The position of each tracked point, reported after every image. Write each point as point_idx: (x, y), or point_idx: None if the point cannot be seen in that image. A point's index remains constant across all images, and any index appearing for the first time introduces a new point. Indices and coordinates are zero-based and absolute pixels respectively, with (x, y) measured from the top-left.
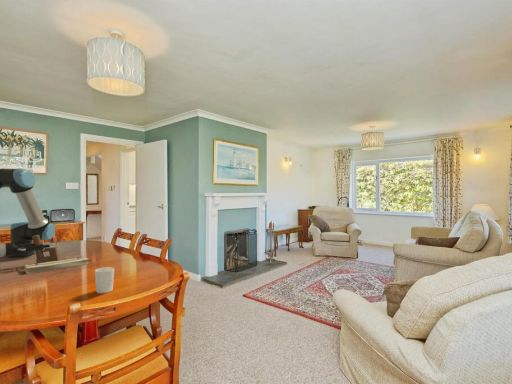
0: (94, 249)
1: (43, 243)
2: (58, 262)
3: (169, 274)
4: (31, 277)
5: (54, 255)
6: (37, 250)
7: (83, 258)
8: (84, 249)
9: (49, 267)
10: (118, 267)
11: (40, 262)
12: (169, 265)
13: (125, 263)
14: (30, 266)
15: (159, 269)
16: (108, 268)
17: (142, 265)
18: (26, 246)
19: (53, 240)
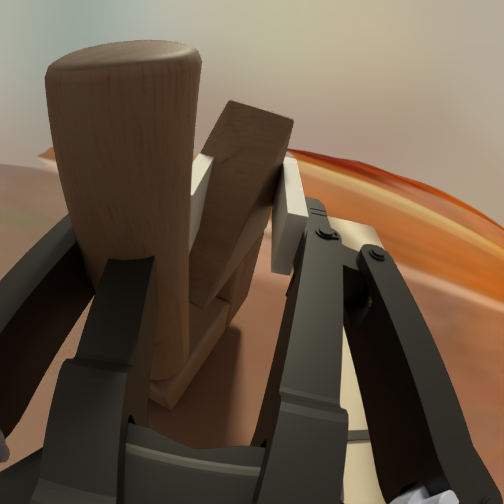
0: None
1: (195, 191)
2: None
3: (500, 227)
4: (501, 462)
5: (250, 274)
6: (178, 322)
7: (339, 226)
8: (49, 163)
9: None
10: (441, 232)
11: (187, 382)
12: (445, 196)
13: (401, 207)
14: None
15: (471, 215)
16: None
17: (434, 207)
18: (134, 419)
19: (289, 134)
